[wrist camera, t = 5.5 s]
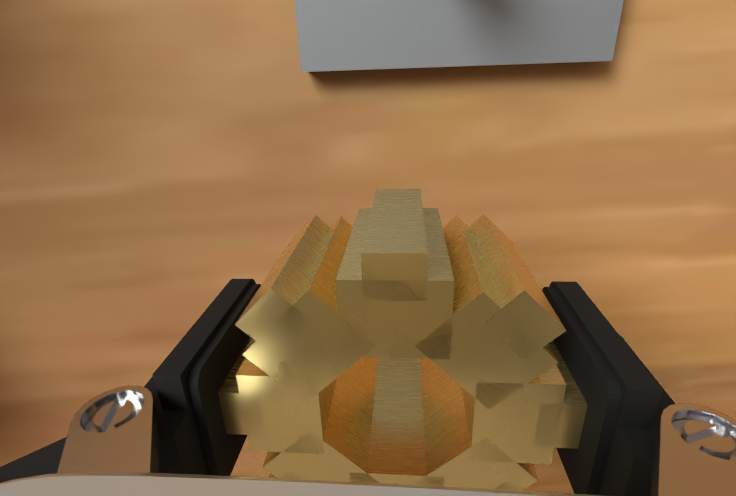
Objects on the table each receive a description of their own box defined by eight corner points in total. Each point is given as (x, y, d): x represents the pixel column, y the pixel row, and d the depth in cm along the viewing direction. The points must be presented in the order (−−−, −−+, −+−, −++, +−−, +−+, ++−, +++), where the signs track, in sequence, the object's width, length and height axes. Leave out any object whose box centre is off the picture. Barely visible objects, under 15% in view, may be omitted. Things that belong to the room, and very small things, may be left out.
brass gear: (546, 187, 10) (623, 253, 7) (515, 414, 13) (558, 549, 9) (258, 190, 11) (184, 252, 7) (288, 406, 14) (245, 530, 10)
